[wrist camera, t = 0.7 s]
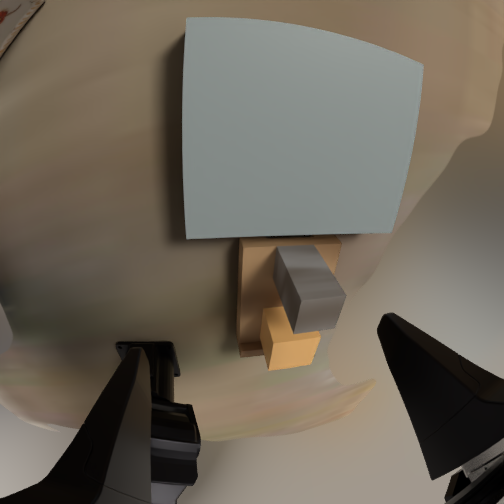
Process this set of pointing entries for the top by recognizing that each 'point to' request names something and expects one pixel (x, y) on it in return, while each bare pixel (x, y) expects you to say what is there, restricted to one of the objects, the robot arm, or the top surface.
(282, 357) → the orange cube
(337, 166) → the pale grey flat slab
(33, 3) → the decorative jar
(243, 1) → the top surface
